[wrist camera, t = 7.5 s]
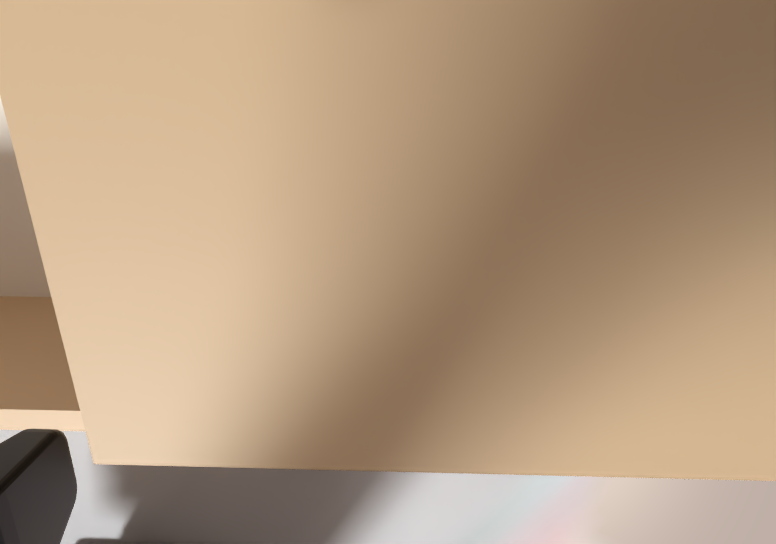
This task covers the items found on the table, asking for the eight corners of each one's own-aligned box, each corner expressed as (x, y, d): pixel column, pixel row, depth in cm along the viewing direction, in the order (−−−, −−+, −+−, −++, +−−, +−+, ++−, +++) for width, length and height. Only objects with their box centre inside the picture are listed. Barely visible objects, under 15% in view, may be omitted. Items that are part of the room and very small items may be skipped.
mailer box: (481, 310, 22) (500, 440, 16) (-91, 302, 23) (-250, 423, 17) (519, -371, 15) (574, -533, 9) (-322, -346, 15) (-717, -481, 10)
